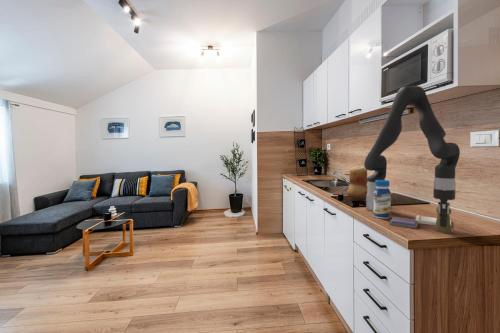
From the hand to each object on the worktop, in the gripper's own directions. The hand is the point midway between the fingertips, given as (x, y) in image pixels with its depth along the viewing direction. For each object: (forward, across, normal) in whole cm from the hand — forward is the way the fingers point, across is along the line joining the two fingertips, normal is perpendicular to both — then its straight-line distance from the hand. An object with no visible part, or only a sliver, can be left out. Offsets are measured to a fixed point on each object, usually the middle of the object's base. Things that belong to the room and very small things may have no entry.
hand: (443, 224), depth 107 cm
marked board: (+3, -14, -4) cm, 15 cm away
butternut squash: (+3, -44, -47) cm, 64 cm away
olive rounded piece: (+3, 0, 0) cm, 3 cm away
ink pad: (+3, -2, -15) cm, 15 cm away
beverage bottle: (+3, -10, -26) cm, 28 cm away
